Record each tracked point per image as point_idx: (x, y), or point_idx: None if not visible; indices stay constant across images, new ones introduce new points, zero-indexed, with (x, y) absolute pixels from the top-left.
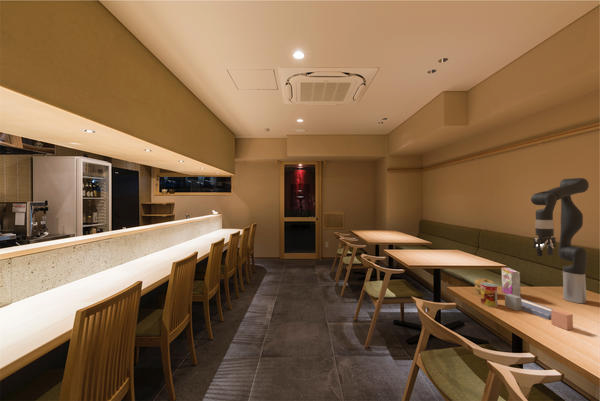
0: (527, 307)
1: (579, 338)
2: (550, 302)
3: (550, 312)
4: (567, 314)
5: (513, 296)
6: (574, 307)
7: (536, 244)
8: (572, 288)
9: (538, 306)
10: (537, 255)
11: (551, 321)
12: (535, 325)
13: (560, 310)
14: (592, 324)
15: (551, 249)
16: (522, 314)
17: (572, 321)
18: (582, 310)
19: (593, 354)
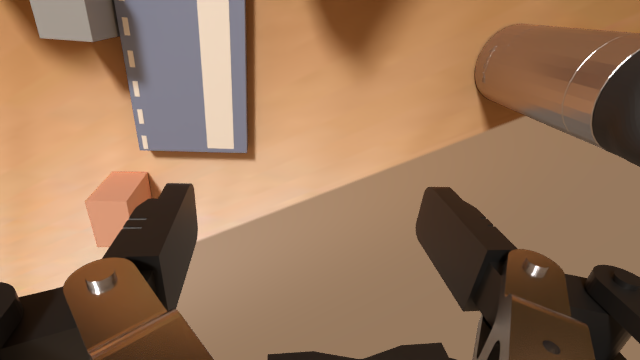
0: (136, 59)
1: (101, 249)
2: (381, 33)
3: (189, 133)
4: (111, 242)
5: (49, 10)
6: (403, 109)
7: (89, 356)
8: (517, 89)
9: (209, 73)
10: (167, 187)
11: (108, 176)
12: (29, 158)
13: (126, 214)
14: (266, 210)
15: (462, 294)
16: (74, 72)
17: None
18: (391, 137)
19: None
